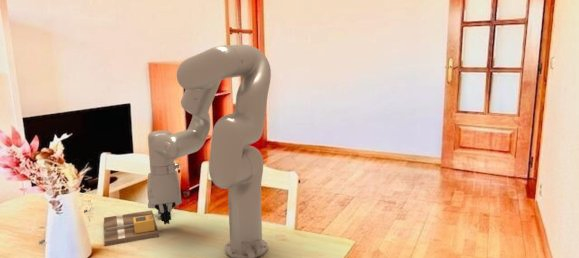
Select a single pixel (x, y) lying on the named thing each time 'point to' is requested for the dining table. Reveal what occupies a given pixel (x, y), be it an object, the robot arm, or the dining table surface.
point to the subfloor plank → (125, 229)
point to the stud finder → (143, 224)
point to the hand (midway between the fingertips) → (166, 222)
